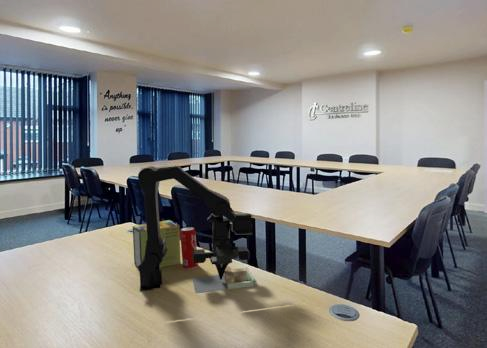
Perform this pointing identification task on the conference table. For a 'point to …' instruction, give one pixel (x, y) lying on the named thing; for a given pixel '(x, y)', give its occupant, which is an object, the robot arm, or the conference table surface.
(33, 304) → the conference table surface
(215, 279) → the platform with raised edges
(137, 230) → the protein box
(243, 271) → the t block
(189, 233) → the beverage can
